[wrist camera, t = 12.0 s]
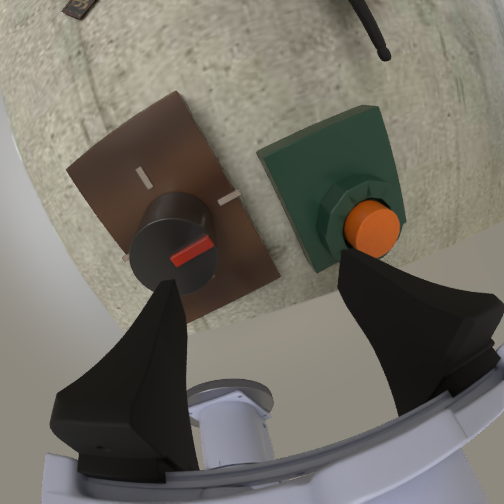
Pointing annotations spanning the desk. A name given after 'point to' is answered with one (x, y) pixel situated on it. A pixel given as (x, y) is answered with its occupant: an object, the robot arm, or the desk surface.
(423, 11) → the desk surface
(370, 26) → the walkie-talkie
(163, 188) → the lock panel
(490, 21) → the desk surface
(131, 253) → the knob
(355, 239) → the button
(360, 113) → the button block
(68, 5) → the key tag
